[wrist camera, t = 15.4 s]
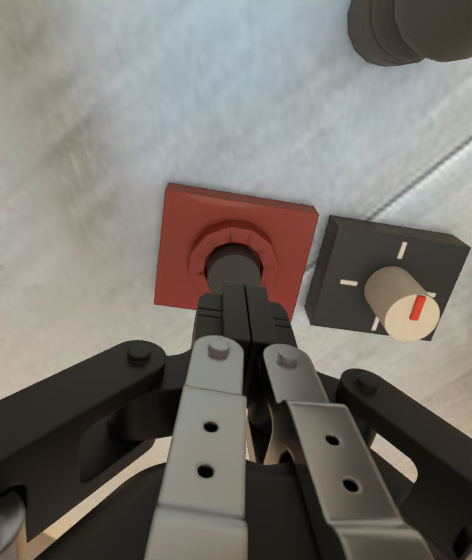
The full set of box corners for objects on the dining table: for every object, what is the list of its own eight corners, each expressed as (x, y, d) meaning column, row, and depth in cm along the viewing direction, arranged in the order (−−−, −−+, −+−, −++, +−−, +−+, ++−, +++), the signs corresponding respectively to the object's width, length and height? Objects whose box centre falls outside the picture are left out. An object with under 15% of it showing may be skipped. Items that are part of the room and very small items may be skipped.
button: (204, 287, 34) (203, 299, 32) (211, 240, 33) (211, 250, 31) (253, 294, 35) (255, 306, 33) (263, 248, 33) (265, 258, 31)
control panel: (304, 308, 40) (310, 326, 37) (329, 215, 36) (339, 227, 33) (416, 323, 41) (431, 342, 38) (453, 235, 37) (472, 248, 34)
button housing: (157, 292, 38) (150, 315, 35) (168, 182, 34) (162, 195, 31) (287, 310, 40) (293, 334, 36) (314, 206, 35) (324, 221, 32)
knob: (403, 311, 36) (431, 347, 32) (358, 306, 36) (379, 341, 31) (418, 269, 35) (450, 299, 30) (371, 263, 34) (395, 293, 30)
